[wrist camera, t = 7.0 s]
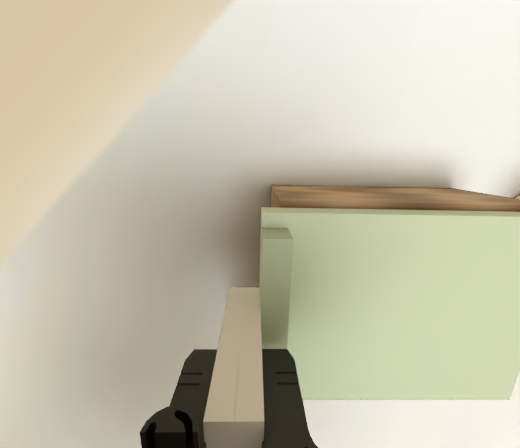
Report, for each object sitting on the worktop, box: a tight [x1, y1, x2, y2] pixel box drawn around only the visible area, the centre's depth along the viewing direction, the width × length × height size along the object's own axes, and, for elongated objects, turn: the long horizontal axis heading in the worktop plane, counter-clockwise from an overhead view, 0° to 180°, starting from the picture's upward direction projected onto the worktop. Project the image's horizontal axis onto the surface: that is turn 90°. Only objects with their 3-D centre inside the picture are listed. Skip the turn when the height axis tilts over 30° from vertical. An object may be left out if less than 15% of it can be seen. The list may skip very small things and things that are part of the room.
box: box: [270, 185, 520, 212], centre depth 18 cm, size 14×11×7 cm
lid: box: [259, 207, 520, 400], centre depth 12 cm, size 14×10×3 cm
